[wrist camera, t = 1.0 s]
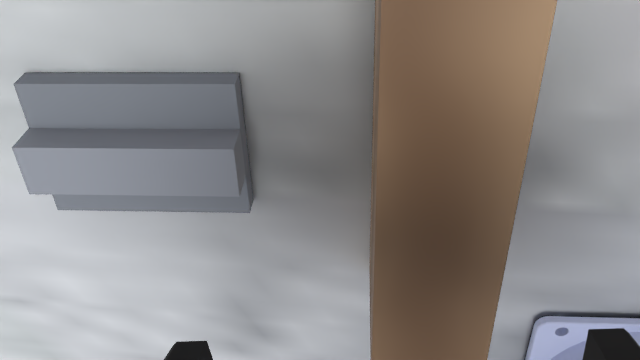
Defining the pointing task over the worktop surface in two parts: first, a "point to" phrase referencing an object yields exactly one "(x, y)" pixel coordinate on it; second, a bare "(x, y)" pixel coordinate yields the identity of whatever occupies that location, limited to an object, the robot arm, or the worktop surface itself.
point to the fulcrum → (135, 141)
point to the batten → (448, 167)
